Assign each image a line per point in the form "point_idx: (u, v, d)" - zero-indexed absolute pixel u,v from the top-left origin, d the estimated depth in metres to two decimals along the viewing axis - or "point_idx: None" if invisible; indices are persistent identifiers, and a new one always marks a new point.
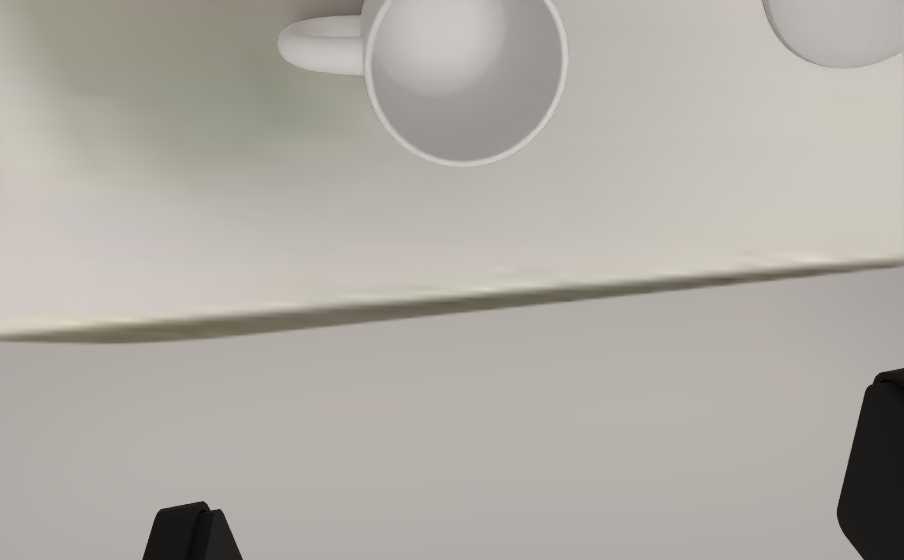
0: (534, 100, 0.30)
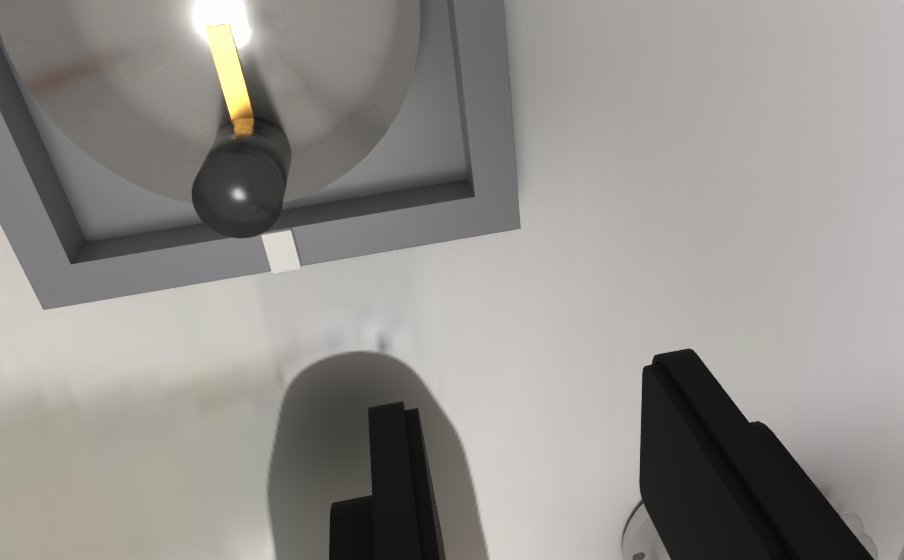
0: None
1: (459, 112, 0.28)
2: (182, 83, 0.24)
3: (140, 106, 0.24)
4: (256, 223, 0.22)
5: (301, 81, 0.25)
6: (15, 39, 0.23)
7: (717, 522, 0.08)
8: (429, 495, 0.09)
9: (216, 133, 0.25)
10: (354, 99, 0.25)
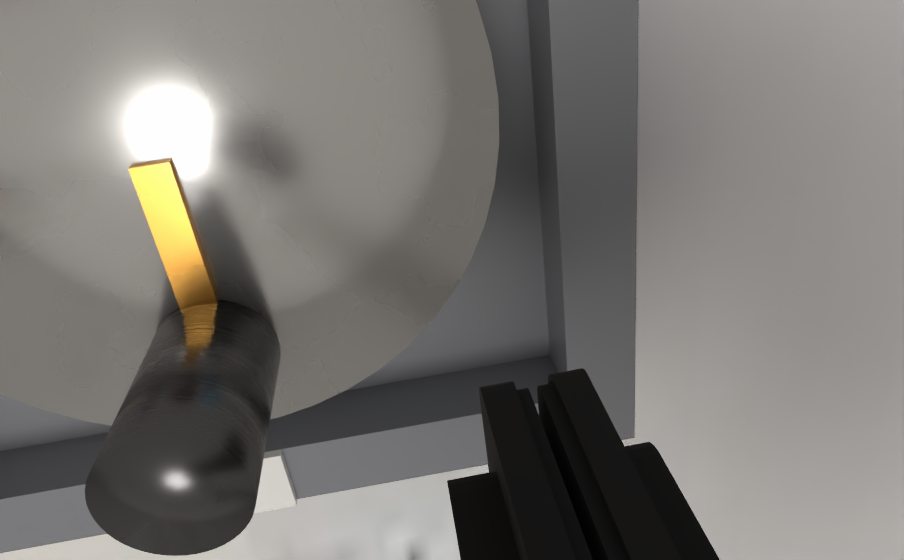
0: None
1: (544, 265, 0.18)
2: (95, 254, 0.14)
3: (25, 290, 0.14)
4: (209, 532, 0.12)
5: (296, 245, 0.15)
6: None
7: (588, 548, 0.08)
8: (557, 470, 0.09)
9: (155, 326, 0.15)
10: (384, 270, 0.15)
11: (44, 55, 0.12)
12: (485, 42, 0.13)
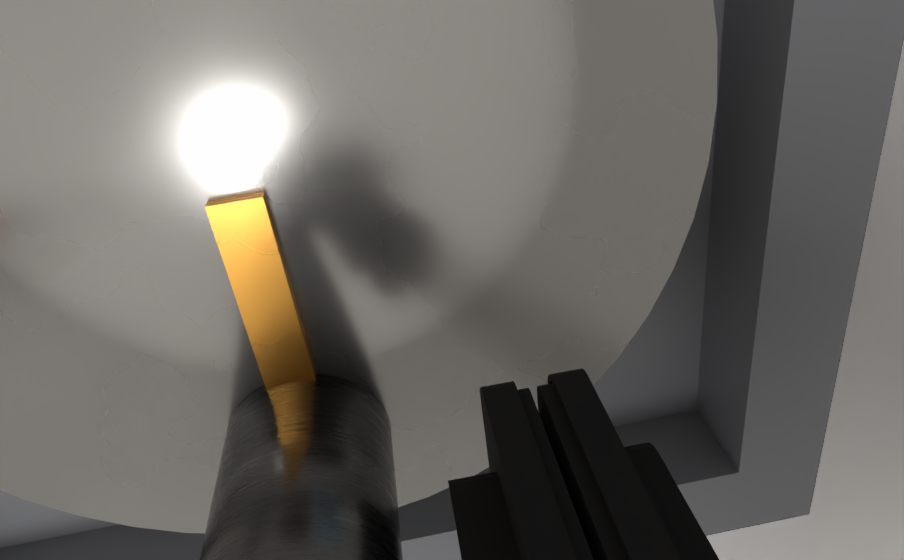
0: None
1: (704, 305, 0.14)
2: (153, 320, 0.10)
3: (56, 369, 0.11)
4: None
5: (424, 302, 0.11)
6: None
7: None
8: (558, 470, 0.09)
9: (231, 410, 0.11)
10: (535, 330, 0.11)
11: (87, 45, 0.08)
12: (712, 24, 0.09)
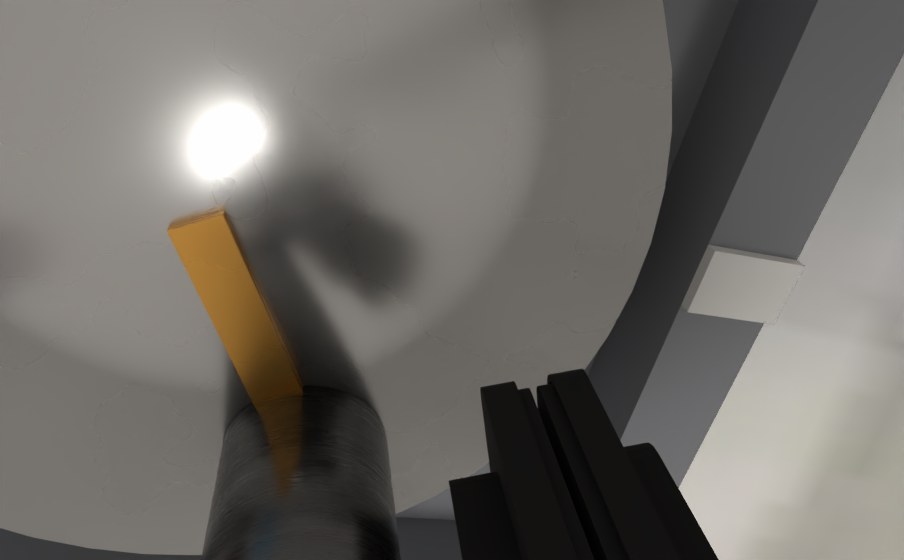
0: None
1: None
2: (133, 349, 0.10)
3: (45, 406, 0.11)
4: None
5: (401, 302, 0.11)
6: None
7: None
8: (559, 470, 0.09)
9: (223, 429, 0.11)
10: (518, 320, 0.11)
11: (28, 84, 0.08)
12: None
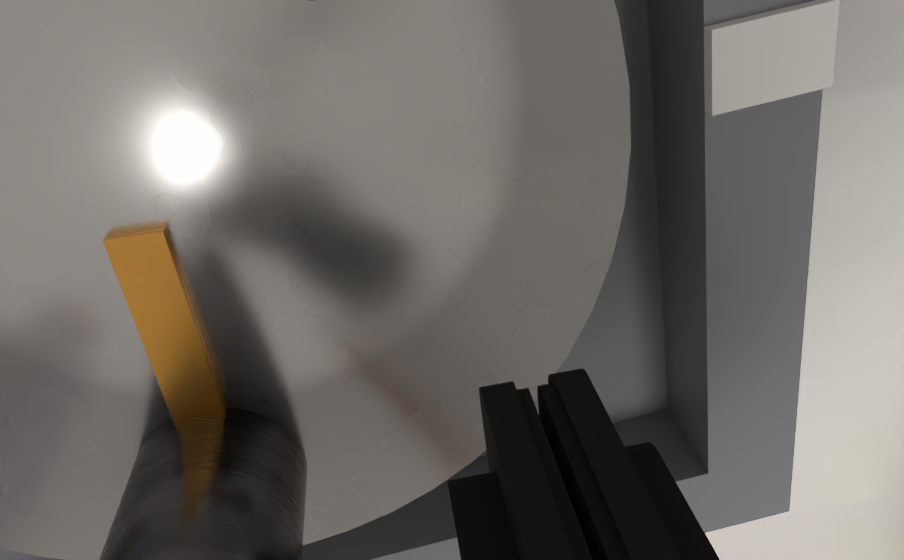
0: None
1: None
2: (54, 351, 0.10)
3: None
4: None
5: (337, 338, 0.11)
6: None
7: (588, 548, 0.08)
8: (557, 470, 0.09)
9: (139, 442, 0.11)
10: (453, 368, 0.11)
11: None
12: (623, 71, 0.09)
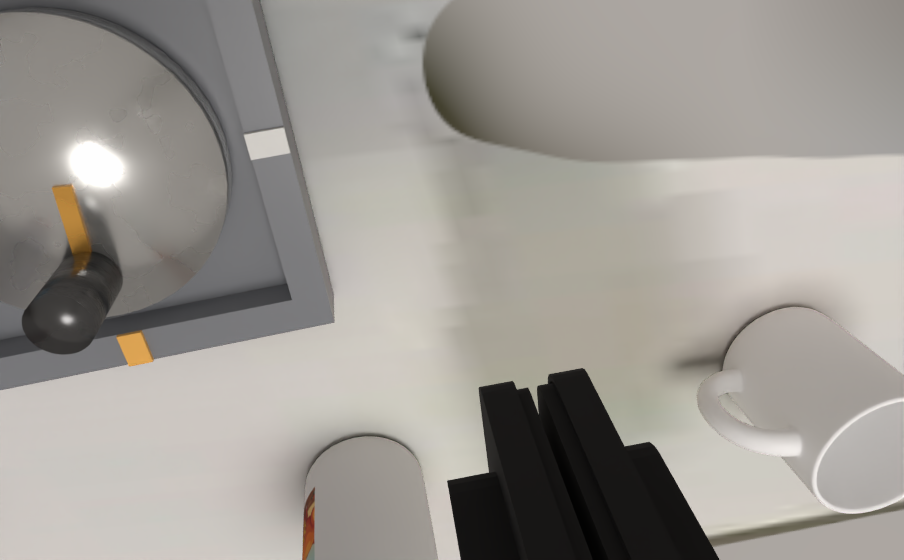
0: (901, 451, 0.41)
1: None
2: (33, 225, 0.31)
3: None
4: (74, 344, 0.29)
5: (131, 227, 0.32)
6: None
7: (588, 548, 0.08)
8: (557, 470, 0.09)
9: (60, 262, 0.32)
10: (174, 242, 0.32)
11: (17, 138, 0.29)
12: (216, 145, 0.31)
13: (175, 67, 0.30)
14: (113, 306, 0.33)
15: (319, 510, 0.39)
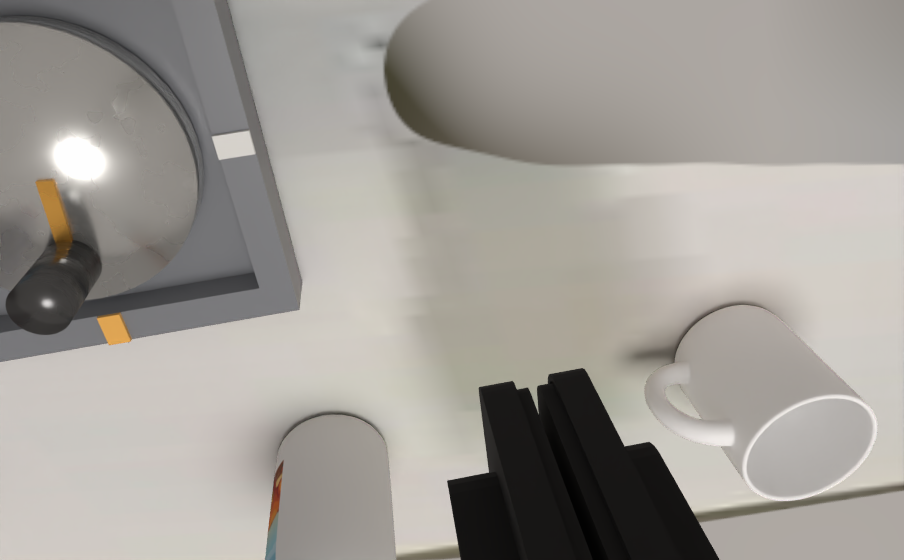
0: (833, 444, 0.43)
1: None
2: (18, 215, 0.34)
3: None
4: (53, 326, 0.32)
5: (108, 219, 0.34)
6: None
7: (588, 548, 0.08)
8: (558, 470, 0.09)
9: (44, 249, 0.35)
10: (149, 233, 0.35)
11: (3, 136, 0.32)
12: (186, 146, 0.33)
13: (148, 73, 0.33)
14: (93, 290, 0.36)
15: (285, 481, 0.42)
